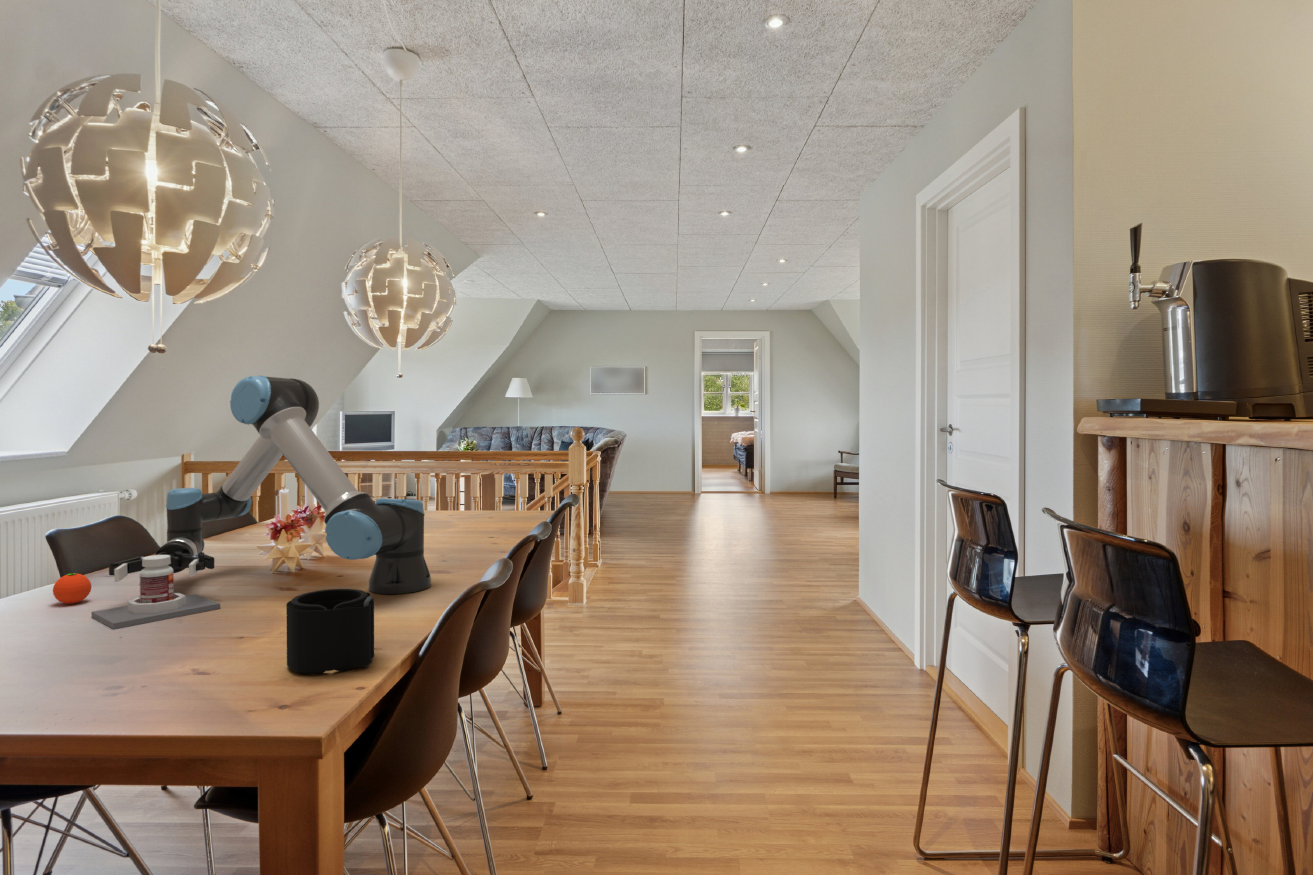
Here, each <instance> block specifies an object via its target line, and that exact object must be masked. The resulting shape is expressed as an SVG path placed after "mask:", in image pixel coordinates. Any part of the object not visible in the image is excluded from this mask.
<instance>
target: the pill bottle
mask: <svg viewBox="0 0 1313 875" xmlns="http://www.w3.org/2000/svg"><path fill="white" fill-rule="evenodd" d="M143 557H144V558H142V566H143V567H145V568H144V569H143V570H141V571H139V597H140V603H158V602H164V601H170V600H173V599H174V593H175V592H174V591H175V590H174V586H175V585H174V584H175V581H174V580H175V579H174V577H175V576H174V574H175V573H173V568H172V567H170V566H168V565H169V564H171V560H170V555H155V554H153V556H151V555H148V556H143Z"/></svg>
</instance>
